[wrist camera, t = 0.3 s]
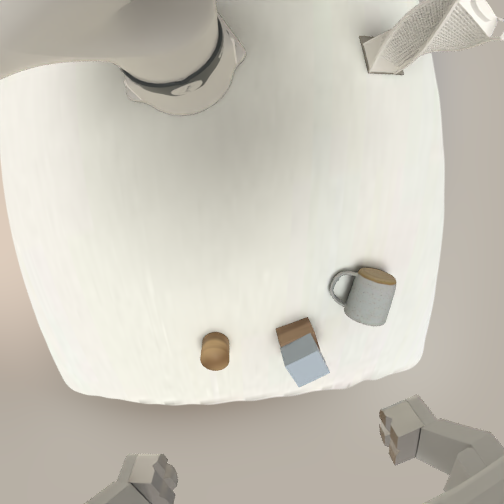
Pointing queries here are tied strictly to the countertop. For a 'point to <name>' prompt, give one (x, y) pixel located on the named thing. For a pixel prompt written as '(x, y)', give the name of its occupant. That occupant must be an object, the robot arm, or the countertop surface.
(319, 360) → the slate upper block
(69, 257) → the countertop surface
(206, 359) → the oak cylinder
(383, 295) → the ceramic mug
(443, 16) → the skyscraper
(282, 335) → the walnut base block
